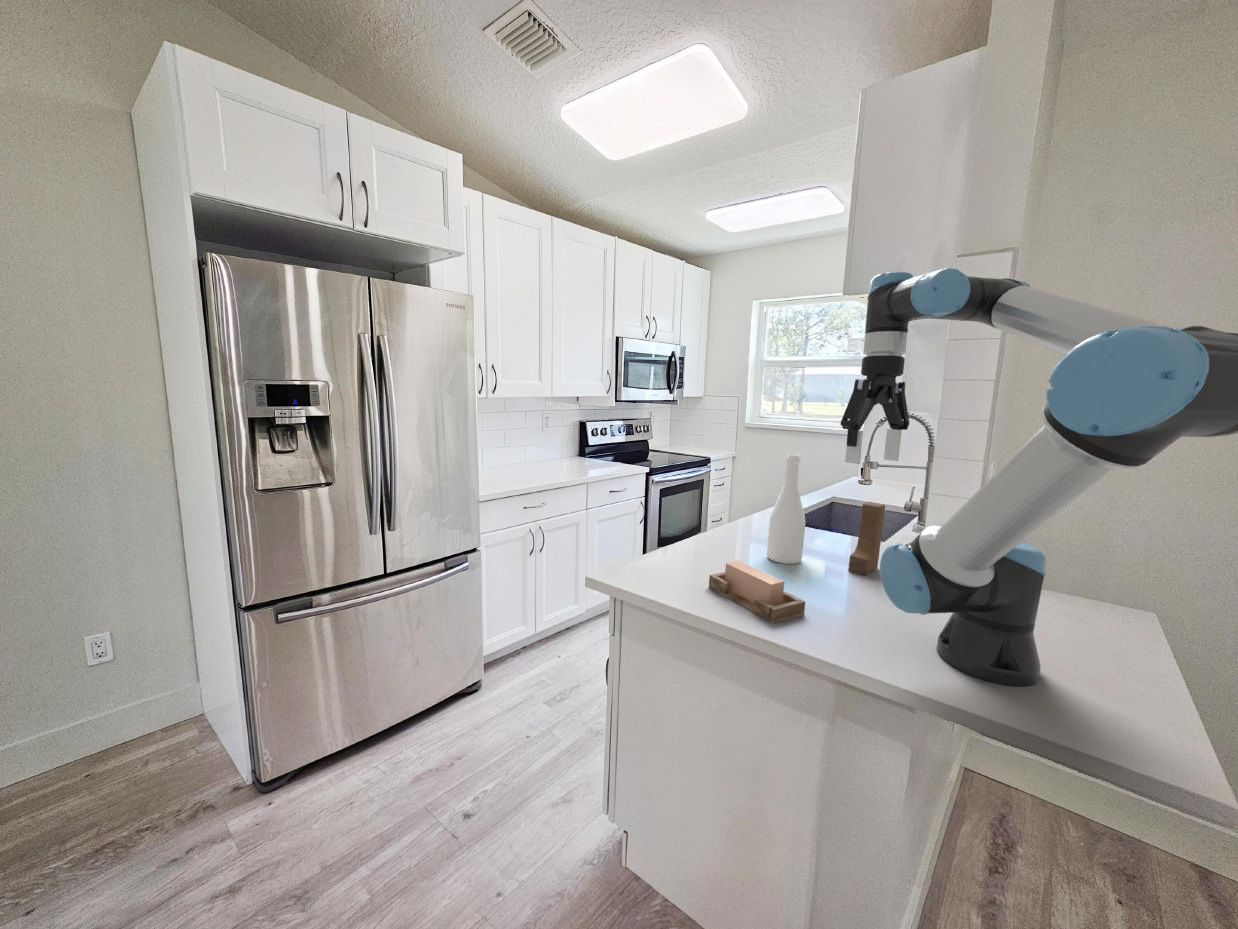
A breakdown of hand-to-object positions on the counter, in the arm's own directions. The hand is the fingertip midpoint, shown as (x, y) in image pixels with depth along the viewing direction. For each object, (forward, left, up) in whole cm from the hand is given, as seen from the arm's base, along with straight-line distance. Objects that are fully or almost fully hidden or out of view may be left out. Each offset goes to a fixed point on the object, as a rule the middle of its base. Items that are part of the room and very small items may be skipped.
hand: (872, 461), depth 103 cm
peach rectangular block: (+16, +14, -33) cm, 39 cm away
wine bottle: (+32, -14, -34) cm, 49 cm away
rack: (+15, +14, -34) cm, 40 cm away
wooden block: (+17, -28, -34) cm, 47 cm away
